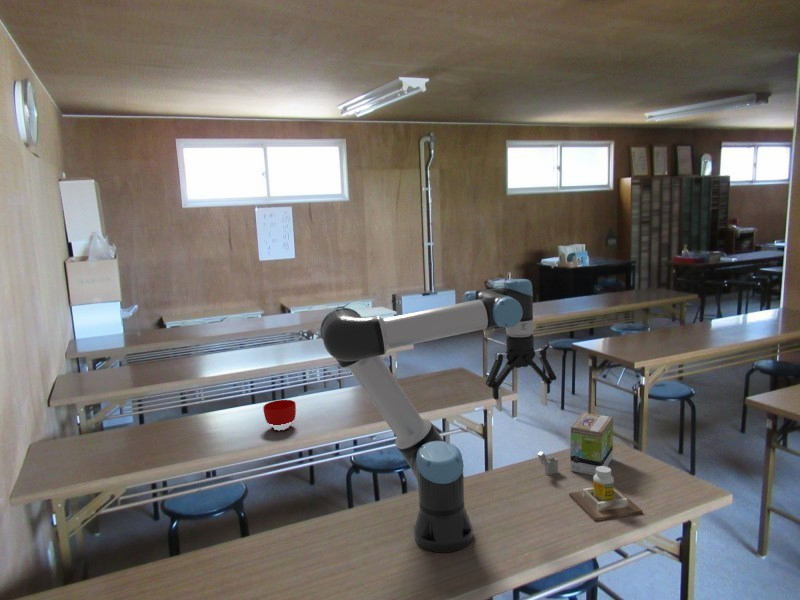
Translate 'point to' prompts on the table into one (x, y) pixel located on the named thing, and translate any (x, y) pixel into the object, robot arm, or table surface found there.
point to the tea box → (591, 443)
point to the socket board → (605, 505)
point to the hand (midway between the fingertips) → (521, 407)
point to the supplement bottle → (603, 484)
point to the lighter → (549, 463)
